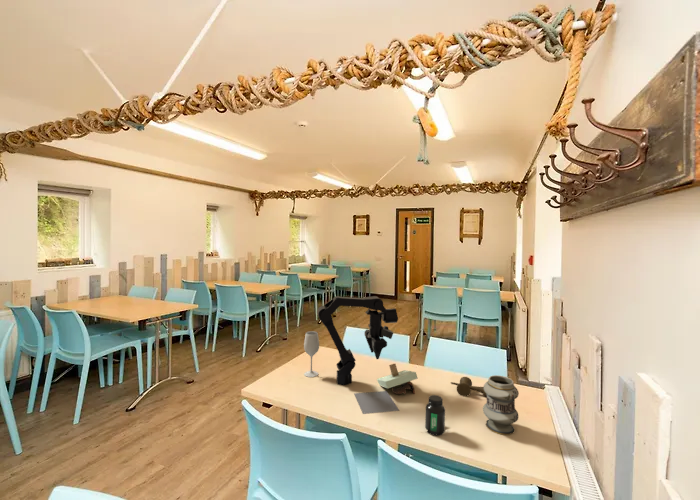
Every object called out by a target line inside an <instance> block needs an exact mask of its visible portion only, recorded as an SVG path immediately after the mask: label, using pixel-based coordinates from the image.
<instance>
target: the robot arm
mask: <svg viewBox="0 0 700 500" xmlns="http://www.w3.org/2000/svg"><path fill="white" fill-rule="evenodd" d="M341 306H342V307H359V308H367V309H368V310H366V311H365V312H364V313H365V314H366V315H367V316H369V324H368V325H367V327H368V329H366V330H365V331H364V337H365V340H366V342H367V344H368V347H369V350H370V353H374V356H375V358H376V360H379V359H380V356H381V354H382V350H383V349H384V348H387V346H388V342H387V340H386V339H385V338H388V339H390V340H392V339H393V335H394V331H392V330H391V329H389V327H388V326H386V325H384V326H383V324H382V322H384V323H385V324H396V323H398V321H399V317H398V313H397V309H396V308H395V307H394V308H386V307H385V305H384V302H383V300H382V299H381V298H380V297H378V296H376V295H373V296H367V297H346V296H338V295H336V296H334V297H333V298H331V300H329V301H328V302H326V303H325V304H324V305H321V306H319V307H318V308H317V310H316V314H317V316H318V319H319V320H320V321H321V323H322V324H323V325H324V327H325V328H326V330H327V331H328V333H329V336H330V337H331V339H332V341H333V343H334V346H335V347H336V350H337V351H338V356H339V361H338V362H337V363H336V365H335V366H336V368H337V370H336V384H337V385H339V386H347V385H349V384H350V385H352V383H353V374H352V371H353V370H354V368H355V367H356V358H355V357H354V355H353V352H352V351H351V349H350V348H349V349H347V348H346V346H345V345H344V342H343V341H342V338H341V337H340V335H339V331H338V330H337V329H336V327H335V324H334V320H333V317H332V315H333V314H334V313H335V312H336V310H338V308H339V307H341ZM384 337H385V338H384Z"/></svg>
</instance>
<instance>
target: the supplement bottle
mask: <svg viewBox="0 0 700 500" xmlns="http://www.w3.org/2000/svg"><path fill="white" fill-rule="evenodd" d="M443 400H444V399H443V397H441V396H440V395H437V394H431V395H429V396H428V402H427V404H426V405H425V417H424V418H425V419H424V420H425V423H424V427H425V429H426V432H427V434H429V435H431V436H439V437H440V436H443V434H444V433H445V427H446V407H445V405H443V403H444V402H443Z"/></svg>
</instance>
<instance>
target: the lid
mask: <svg viewBox="0 0 700 500" xmlns="http://www.w3.org/2000/svg"><path fill="white" fill-rule="evenodd" d="M388 366H389V369H390V373H391V374H388V375H385V376H383V377H379V378H377V379H376V381H377V383H378V385H379V386H381V387H383V388H385V389H387V390H388V389H391V388H393V387H396V386H400V385H401V384H403V383H406V382H409V381H410V382H412V381H414V380H415V381H416V380H417V379H418V375H417V371H412V370H402V371H398V367H397V365H396V363H391V364H389V365H388Z"/></svg>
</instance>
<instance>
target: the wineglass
mask: <svg viewBox="0 0 700 500" xmlns="http://www.w3.org/2000/svg"><path fill="white" fill-rule="evenodd" d="M319 338H320V337H319V334H318V332H317V331H313V330H312V331H310V330H309V331H307V332H305V337H304V342H303V349H304V352H305V353H306V354H307V355H308V356H309V357H310V370H308V371H305V372H304V374H303V376H304V377H307V378H316V377H318V375H319V372H317V371H315V370H313V357H314V356H315V355H316V354H317V353H318V352H319V349H320V340H319Z"/></svg>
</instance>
